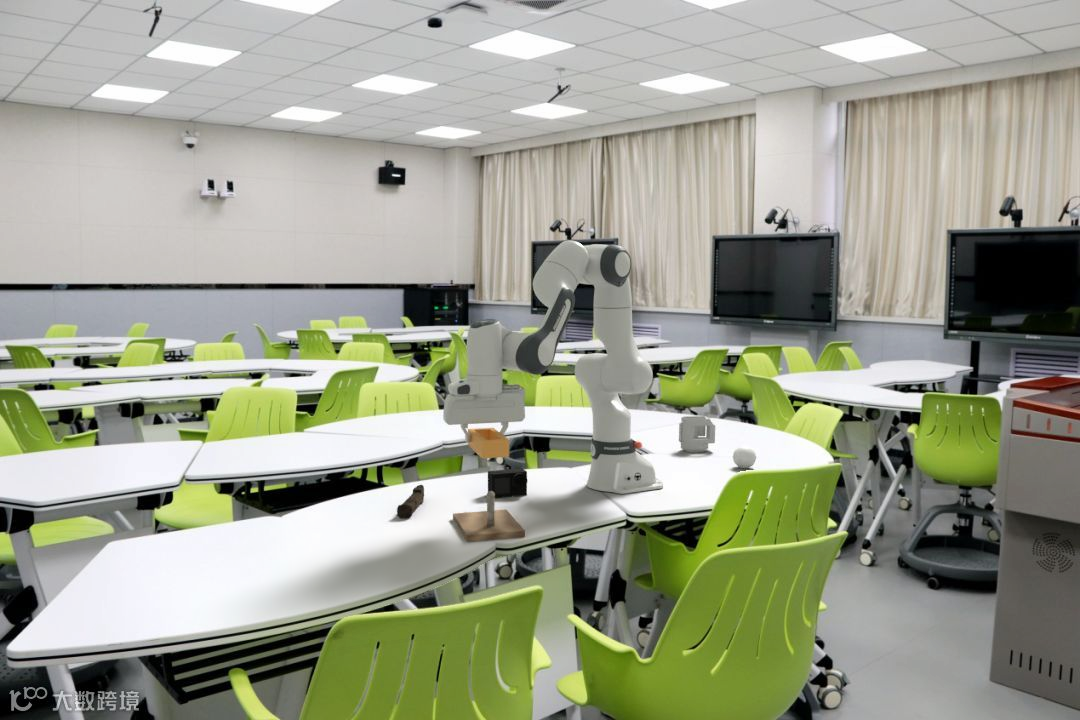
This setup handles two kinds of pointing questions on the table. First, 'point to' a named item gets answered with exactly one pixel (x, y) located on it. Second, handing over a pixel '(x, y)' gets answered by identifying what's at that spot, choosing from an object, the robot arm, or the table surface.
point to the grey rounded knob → (744, 457)
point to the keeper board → (485, 532)
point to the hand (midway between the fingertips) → (484, 440)
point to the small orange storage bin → (489, 443)
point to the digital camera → (508, 482)
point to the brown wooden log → (411, 503)
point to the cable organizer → (696, 433)
